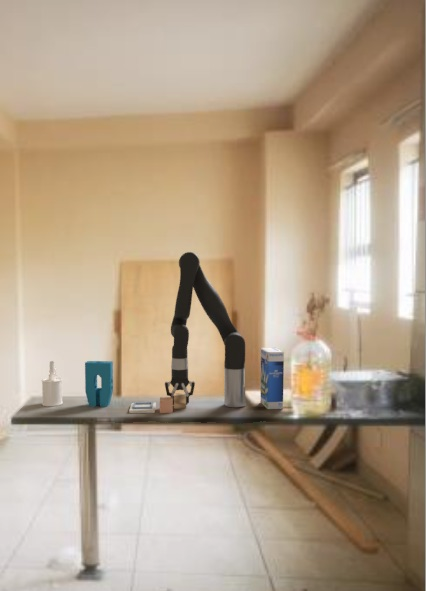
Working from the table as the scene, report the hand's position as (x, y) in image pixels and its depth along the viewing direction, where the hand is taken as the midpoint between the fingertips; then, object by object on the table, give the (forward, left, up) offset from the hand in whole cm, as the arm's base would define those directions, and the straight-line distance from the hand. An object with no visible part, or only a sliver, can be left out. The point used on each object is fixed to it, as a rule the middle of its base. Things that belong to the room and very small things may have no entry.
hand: (179, 404), depth 237 cm
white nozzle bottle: (+59, -8, -1) cm, 60 cm away
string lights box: (-42, +1, -1) cm, 42 cm away
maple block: (0, 0, -1) cm, 1 cm away
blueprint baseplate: (+16, +3, -1) cm, 17 cm away
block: (+37, -5, -1) cm, 37 cm away
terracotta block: (+6, +7, -1) cm, 9 cm away
